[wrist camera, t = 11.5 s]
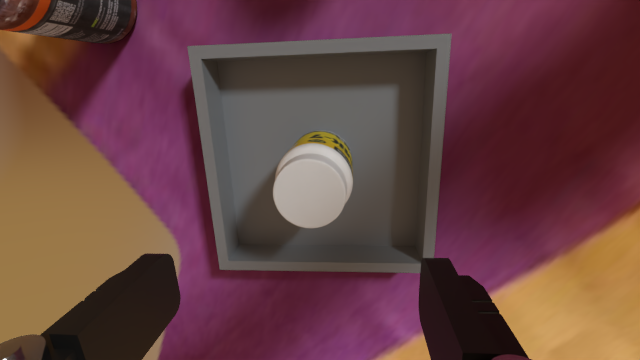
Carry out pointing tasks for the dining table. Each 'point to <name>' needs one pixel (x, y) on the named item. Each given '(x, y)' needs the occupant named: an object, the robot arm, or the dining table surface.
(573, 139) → the dining table surface
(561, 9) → the dining table surface
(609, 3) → the dining table surface
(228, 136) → the tray
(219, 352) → the dining table surface
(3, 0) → the supplement bottle
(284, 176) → the supplement bottle
